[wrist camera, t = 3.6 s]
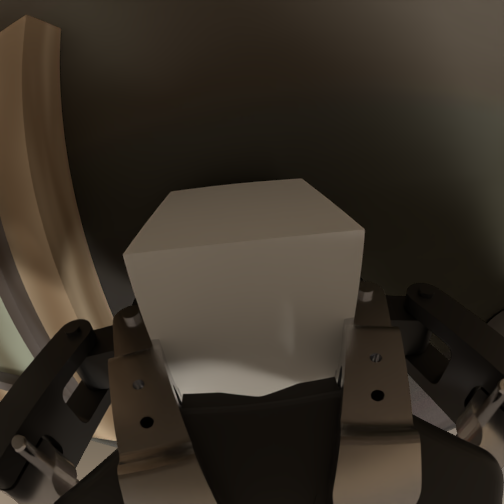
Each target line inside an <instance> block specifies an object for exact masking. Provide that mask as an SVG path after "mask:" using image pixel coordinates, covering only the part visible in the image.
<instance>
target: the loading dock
mask: <svg viewBox="0 0 504 504" xmlns="http://www.w3.org/2000/svg"><path fill="white" fill-rule="evenodd" d="M60 37H61V29H60V28H58V27H56V26H54V25H51V24H49V23H47V22H44V21H42V20H39V19H37V18H34V17H32V16H29V15H25V16H23V17H22V18H20V19H19V20H17V21H16V22H14V23H13V24H11V25H10V26H8V27H7V28H5V29H4V30H3V31H1V32H0V401H1V400H2V399H3V398H4V396H5V395H6V394H7V392H8V391H9V390H10V388H11V387H12V386H13V384H14V383H15V382H16V381H17V379H18V378H19V377H20V376H21V374H22V373H23V372H24V371H25V369H26V368H27V367H28V366H29V364H30V363H31V362H32V361H33V360H34V358H35V357H36V356H37V355H38V354H39V352H40V351H41V350H42V349H43V348H44V347H45V346H46V344H47V343H48V342H49V341H50V340H51V339H52V338H53V336H54V335H55V334H56V333H57V332H58V331H59V330H60V329H61V328H62V327H63V326H64V325H65V324H67V323H68V322H70V321H73V320H77V319H85V320H88V321H89V322H90V324H91V326H92V328H93V330H96V329H100V328H103V327H107V326H111V325H113V316H112V313H111V311H110V308H109V306H108V303H107V300H106V298H105V295H104V292H103V290H102V287H101V284H100V281H99V279H98V276H97V273H96V270H95V267H94V264H93V261H92V258H91V254H90V251H89V248H88V244H87V241H86V238H85V234H84V230H83V227H82V223H81V219H80V215H79V211H78V207H77V203H76V198H75V194H74V189H73V184H72V179H71V174H70V168H69V163H68V156H67V150H66V143H65V135H64V127H63V117H62V106H61V90H60ZM80 382H81V378H80V377H79V375H78V373H77V372H75V373H74V375H73V376H72V377H71V379H70V380H69V382H68V383H67V385H66V386H65V388H64V390H63V399H64V401H65V403H66V402H67V401H68V399H69V398H70V396H71V395H72V393H73V392H74V390H75V389H76V387H77V386H78V384H79V383H80ZM92 437H95V438H101V439H107V440H114V441H117V440H116V434H115V428H114V421H113V414H112V406H111V404H110V406H109V408H108V410H107V411H106V413H105V415H104V417H103V418H102V420H101V422H100V424H99V426H98V427H97V429H96V431H95V433H94V435H93V436H92Z"/></svg>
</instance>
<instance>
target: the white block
mask: <svg viewBox="0 0 504 504" xmlns="http://www.w3.org/2000/svg"><path fill="white" fill-rule="evenodd" d="M364 235H365V229H364V228H363V227H361V226H360V225H359V224H358V223H357V222H356V221H354V220H353V219H352V218H351V217H350V216H348V215H347V214H346V213H345V212H344V211H342V210H341V209H340V208H339V207H337V206H336V205H335V204H334V203H333V202H331V201H330V200H329V199H328V198H326V197H325V196H324V195H322V194H321V193H320V192H319V191H317V190H316V189H315V188H313V187H312V186H311V185H310V184H308V183H307V182H306V181H304V180H303V179H302V178H301V179H285V180H272V181H260V182H248V183H238V184H228V185H219V186H210V187H202V188H194V189H186V190H179V191H172V192H170V193H169V194H168V196H167V197H166V198H165V199H164V201H163V202H162V203H161V204H160V206H159V207H158V208H157V209H156V211H155V212H154V213H153V214H152V216H151V217H150V218H149V220H148V221H147V222H146V224H145V225H144V226H143V227H142V229H141V230H140V231H139V233H138V234H137V235H136V237H135V238H134V240H133V241H132V242H131V244H130V245H129V246H128V248H127V249H126V251H125V252H124V253H123V258H124V261H125V265H126V268H127V272H128V275H129V278H130V282H131V285H132V288H133V291H134V294H135V297H136V300H137V303H138V306H139V309H140V312H141V315H142V318H143V320H144V323H145V326H146V328H147V331H148V334H149V336H150V339H151V340H155V339H159V340H160V343H161V346H162V348H163V351H164V354H165V357H166V361H167V364H168V366H169V369H170V372H171V374H172V377H173V379H174V381H175V384H176V386H177V388H179V390H180V392H181V395H182V396H183V394H194V393H215V392H222V393H229V394H238V395H247V396H264V395H267V394H270V393H273V392H276V391H279V390H282V389H284V388H287V387H290V386H293V385H295V384H298V383H303V382H309V381H314V380H320V379H325V378H330V377H334V375H335V370H337V369H338V363H339V358H340V352H341V343H342V330H343V323H344V319H347V318H353V317H354V316H355V310H356V304H357V297H358V290H359V282H360V274H361V266H362V257H363V247H364Z"/></svg>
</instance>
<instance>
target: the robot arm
mask: <svg viewBox="0 0 504 504" xmlns="http://www.w3.org/2000/svg"><path fill="white" fill-rule="evenodd" d="M432 333H434V334H435V335H436V336H437V337H439V338H440V339H441V340H442V341H443V342H444V343H446V344H447V345H448V346H449V348H450V350H451V360H450V361H449V360H448V359H447V358H445V357H444V356H443V355H442V354H441V353H440V352H439V351H438V350H437V349H435V348H434V347H433V346H432V345H431V344H430V343H429V341H430V338H431V336H432ZM75 372H77V373H78V375H79V377H80V378H81V382H80V383H79V384H78V386H77V387H76V389H75V390H74V392H73V393H72V395H71V396H70V398H69V399H68V401H67V402H66V403H65V401H64V399H63V390H64V388H65V386H66V385H67V383H68V382H69V380H70V379H71V377H72V376H73V375H74V373H75ZM408 374H409V375H410V376H411V377H412V379H413V380H414V381H415V382H416V383H417V384H418V385H419V386H420V387H421V388H422V389H423V390H424V391H425V392H426V393H427V394H428V395H429V396H430V397H431V398H432V399H433V401H434V402H435V403H436V404H437V405H438V406H439V407H440V408H441V409H442V410H443V411H444V412H445V413H446V414H447V415H448V417H449V418H450V419H451V420H452V421H453V422H454V423H455V424H456V430H457V435H456V436H455V435H453V434H451V433H449V432H447V431H444V430H442V429H440V428H438V427H436V426H434V425H432V424H430V423H428V422H426V421H424V420H422V419H420V418H418V417H416V416H415V415H413V414H412V406H411V397H410V388H409V381H408ZM110 404H111V406H112V414H113V421H114V428H115V434H116V440H117V446H118V448H117V449H116V450H115V451H114V452H113V453H112V454H111V455H110V456H108V457H107V458H106V459H105V460H104V461H103V462H102V463H100V464H99V465H98V466H97V467H96V468H95V469H93V471H91V472H90V473H89V474H88V475H86V476H85V477H84V478H83V479H82V480H81V481H79V480H78V479H77V473H76V467H77V465H78V463H79V461H80V459H81V457H82V455H83V453H84V451H85V449H86V448H87V446H88V444H89V442H90V440H91V438H92V436H93V435H94V433H95V431H96V429H97V427H98V426H99V424H100V422H101V420H102V418H103V417H104V415H105V413H106V411H107V410H108V408H109V406H110ZM503 467H504V311H502V312H500V313H499V314H497V315H496V316H495V317H494V318H493V319H491V320H490V321H489V322H488V323H487V324H486V323H485V322H484V321H483V320H481V319H480V318H479V317H477V316H476V315H474V314H473V313H472V312H470V311H469V310H468V309H466V308H465V307H464V306H462V305H461V304H459V303H458V302H457V301H455V300H454V299H452V298H451V297H449V296H448V295H447V294H445V293H444V292H442V291H441V290H439V289H438V288H436V287H435V286H432V285H430V284H425V283H416V284H413V285H411V286H409V288H408V290H407V294H406V296H388V295H385V291H384V290H383V288H382V287H381V286H379V285H378V284H376V283H373V282H369V281H363V279H362V278H361V277H360V282H359V290H358V297H357V304H356V310H355V316H354V317H353V318H347V319H344V323H343V330H342V343H341V352H340V358H339V363H338V369H337V370H335V375H334V377H330V378H325V379H320V380H314V381H309V382H303V383H298V384H295V385H293V386H290V387H287V388H284V389H282V390H279V391H276V392H273V393H270V394H267V395H264V396H247V395H238V394H229V393H222V392H215V393H194V394H183V396H182V395H181V392H180V390H179V388H177V386H176V384H175V381H174V379H173V377H172V374H171V372H170V369H169V366H168V364H167V361H166V357H165V354H164V351H163V348H162V346H161V343H160V340H159V339H155V340H151V339H150V336H149V334H148V331H147V328H146V326H145V323H144V320H143V318H142V315H141V312H140V309H139V306H138V303H137V300H136V297H135V300H134V302H133V304H132V306H128V307H126V308H124V309H122V310H120V311H119V312H118V313H117V314H116V315H115V316H114V318H113V325H111V326H107V327H103V328H100V329H96V330H93V328H92V326H91V324H90V322H89V321H88V320H85V319H77V320H73V321H70V322H68V323H67V324H65V325H64V326H63V327H62V328H61V329H60V330H59V331H58V332H57V333H56V334H55V335H54V336H53V338H52V339H51V340H50V341H49V342H48V343H47V344H46V346H45V347H44V348H43V349H42V350H41V351H40V352H39V354H38V355H37V356H36V357H35V358H34V360H33V361H32V362H31V363H30V364H29V366H28V367H27V368H26V369H25V371H24V372H23V373H22V374H21V376H20V377H19V378H18V379H17V381H16V382H15V383H14V384H13V386H12V387H11V388H10V390H9V391H8V392H7V394H6V395H5V396H4V398H3V399H2V400H1V402H0V491H2V492H4V493H5V494H7V495H8V496H10V497H11V498H13V499H14V500H15V501H17V502H18V503H19V504H502V496H503V483H504V482H503V474H502V470H501V469H502V468H503Z"/></svg>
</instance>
